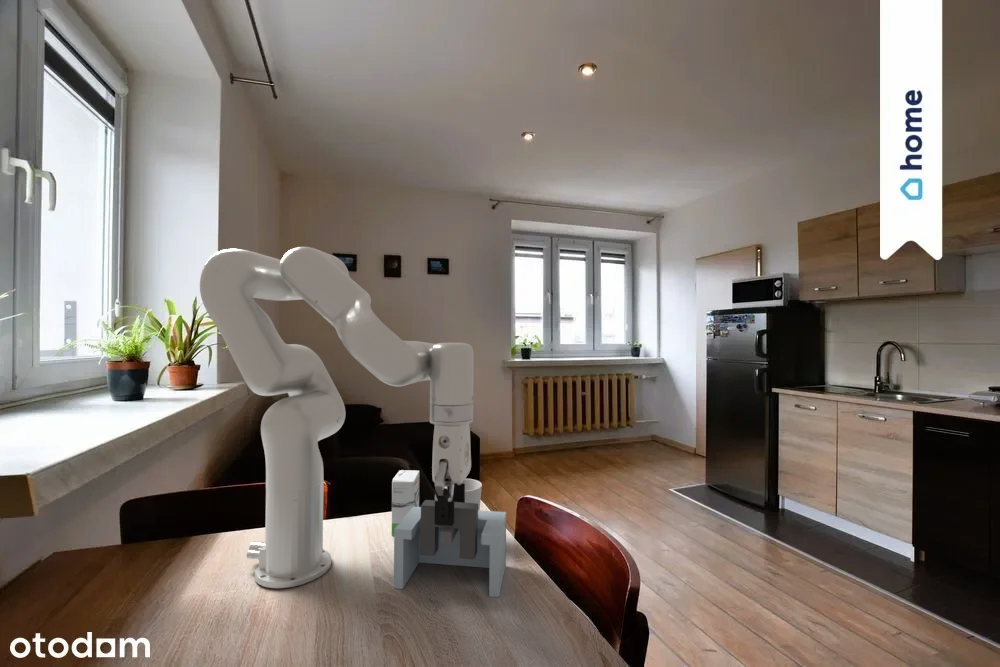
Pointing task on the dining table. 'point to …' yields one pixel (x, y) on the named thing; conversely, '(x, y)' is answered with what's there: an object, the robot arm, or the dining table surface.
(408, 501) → the ink box
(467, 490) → the cup
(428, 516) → the grey arch block
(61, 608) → the dining table surface
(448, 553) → the shelf
